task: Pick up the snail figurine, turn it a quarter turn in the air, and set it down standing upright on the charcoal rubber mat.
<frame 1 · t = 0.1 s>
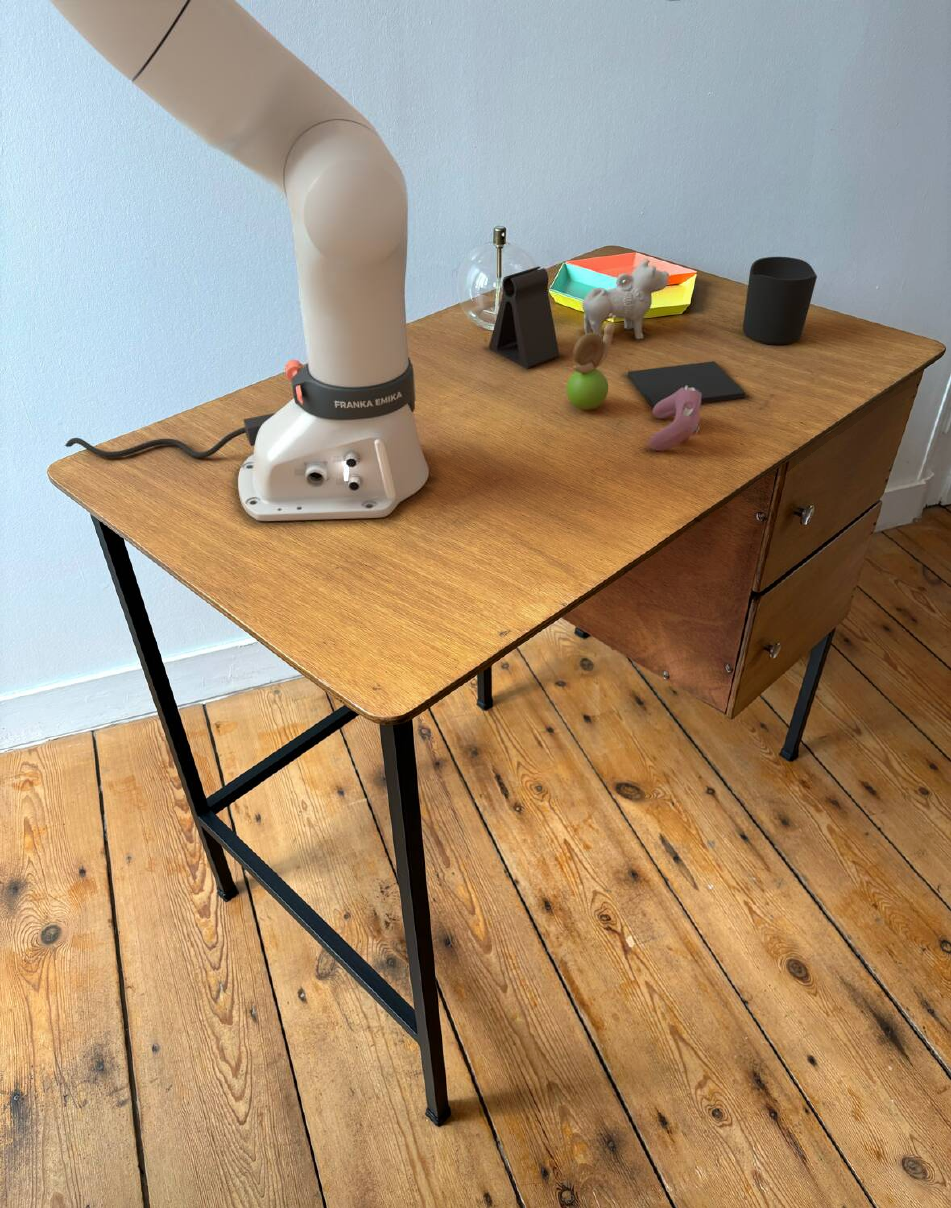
dog figurine: (619, 334, 145), on the table
mat: (684, 387, 131), on the table
video game controller: (672, 436, 121), on the table
pen holder: (771, 335, 145), on the table
snail figurine: (588, 407, 128), on the table
phone stand: (523, 354, 140), on the table
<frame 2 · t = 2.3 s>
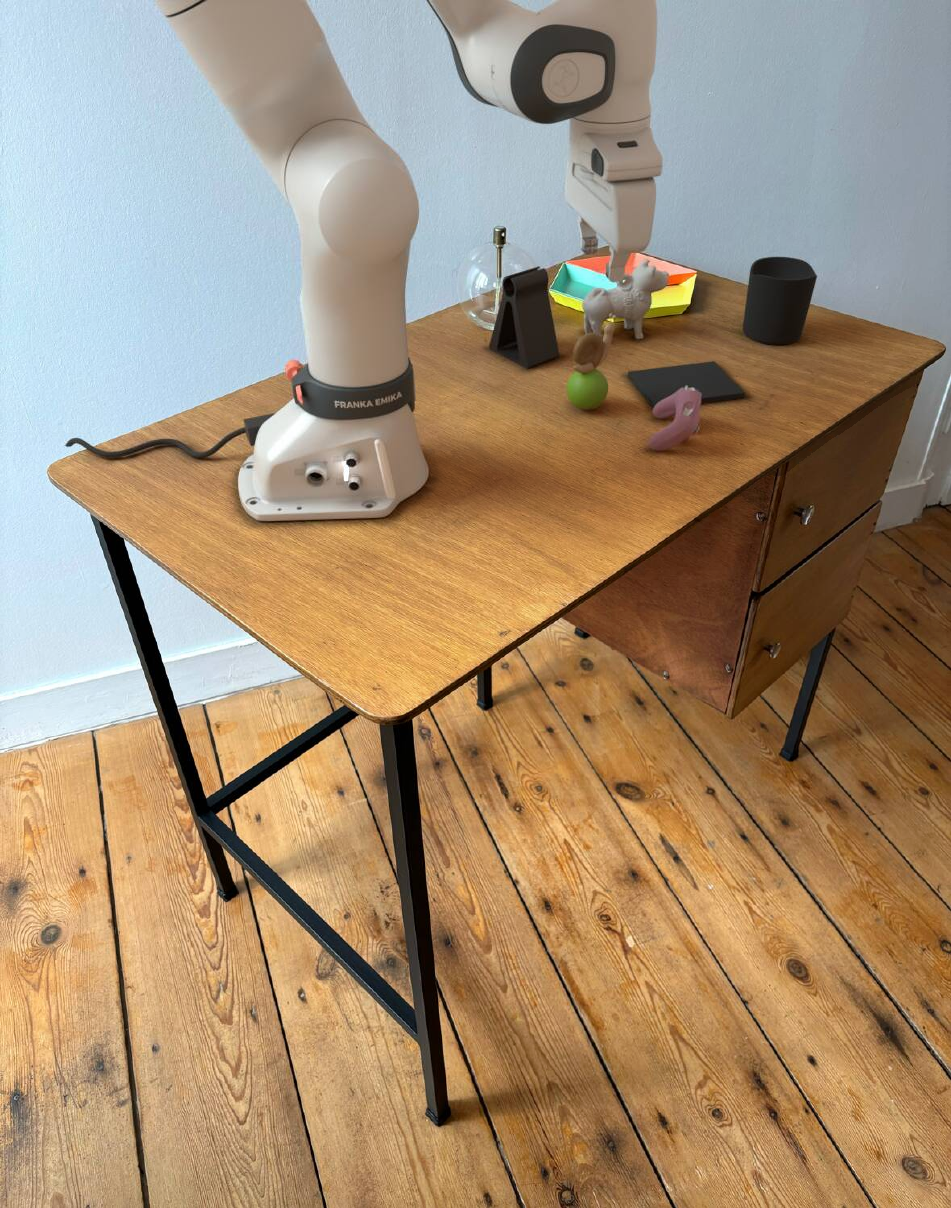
hand: (601, 265, 115), 19 cm above the table, tool pointing down, fingers open, 8 cm apart
nothing on the table moved.
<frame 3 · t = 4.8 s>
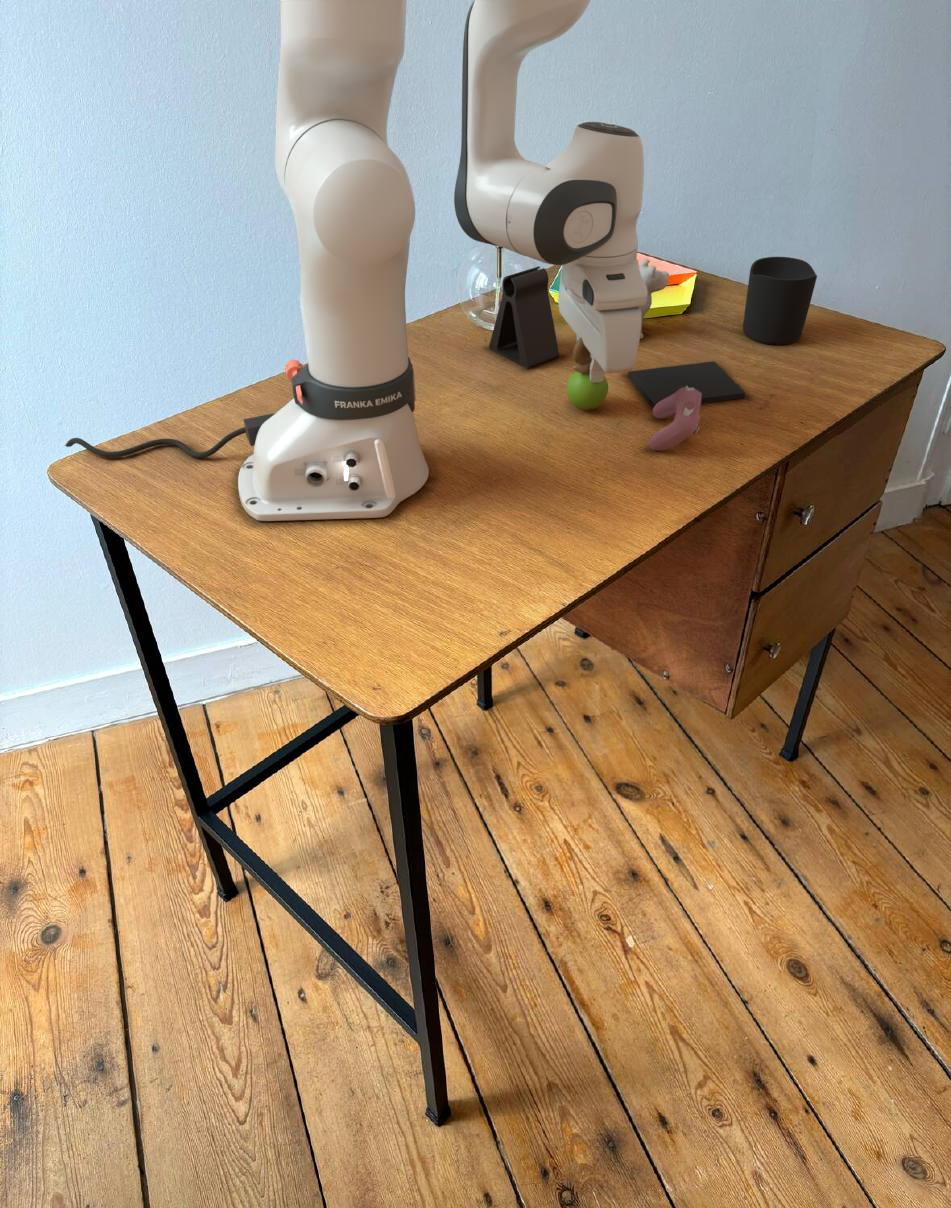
hand: (591, 374, 125), 5 cm above the table, tool pointing down, fingers closed on snail figurine
snail figurine: (588, 407, 128), on the table, touching gripper
everything else where it was.
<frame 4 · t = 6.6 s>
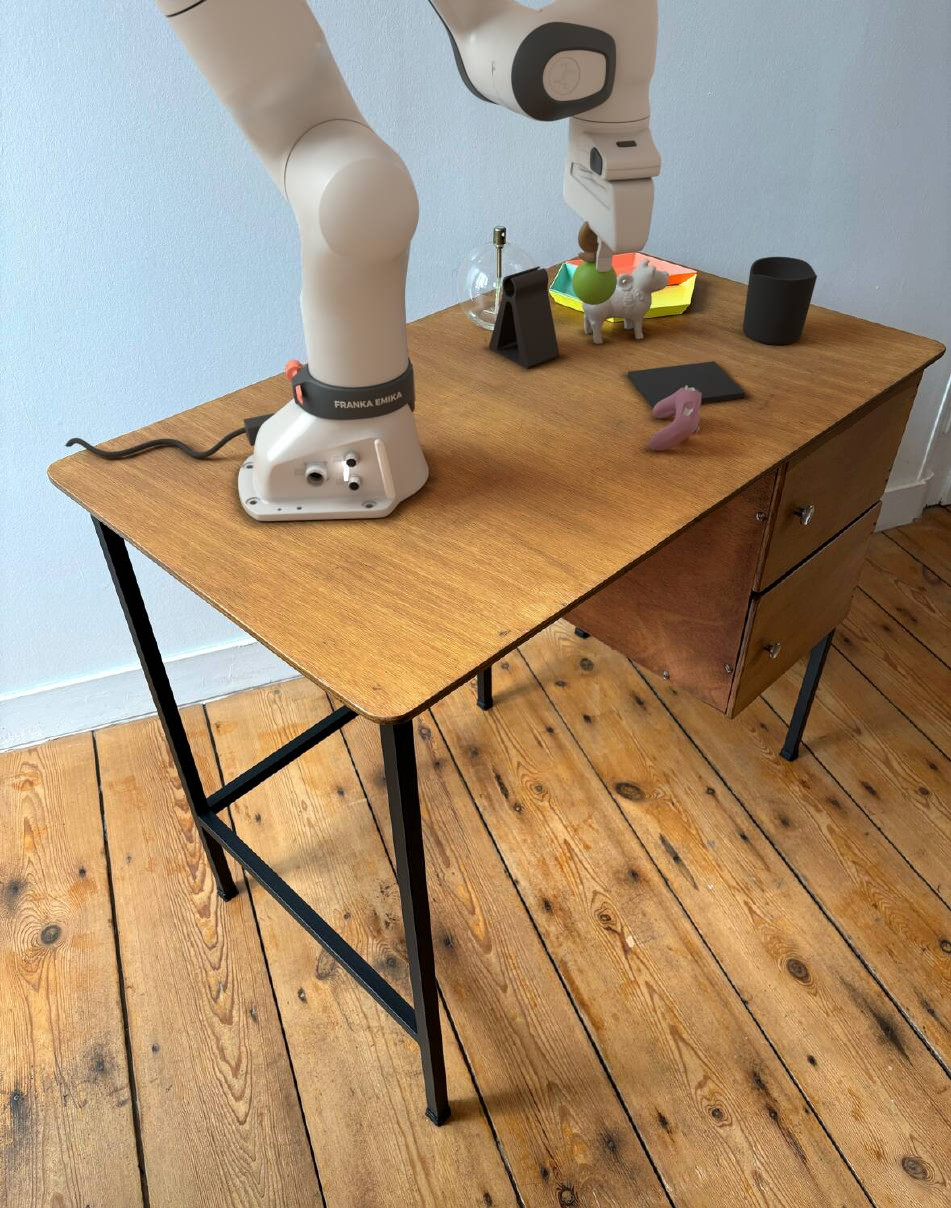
hand: (598, 265, 115), 19 cm above the table, tool pointing down, fingers closed on snail figurine
snail figurine: (596, 304, 119), point 14 cm above the table, touching gripper
everything else where it was.
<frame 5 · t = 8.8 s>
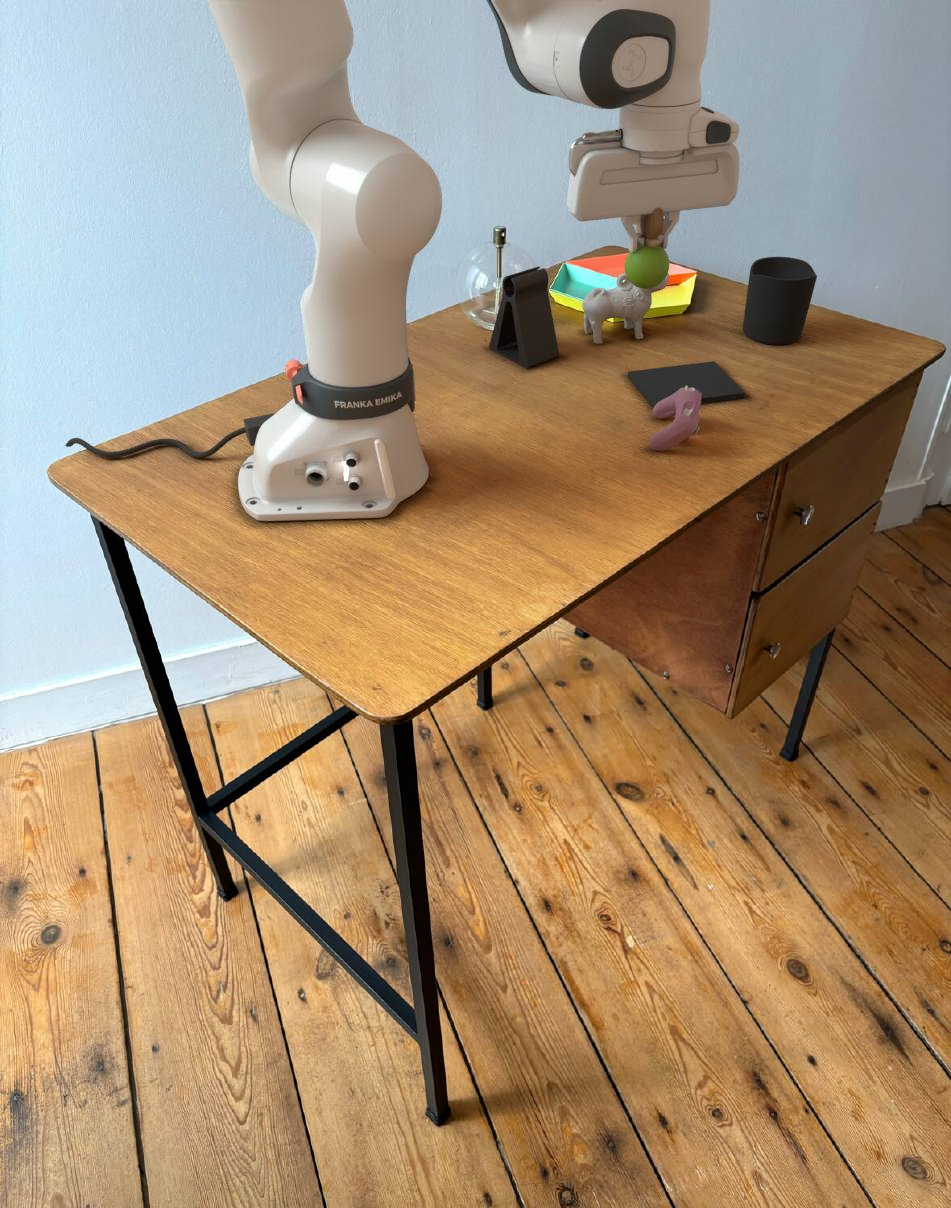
hand: (647, 249, 117), 20 cm above the table, tool pointing down, fingers closed on snail figurine
snail figurine: (642, 287, 120), point 15 cm above the table, touching gripper
everything else where it was.
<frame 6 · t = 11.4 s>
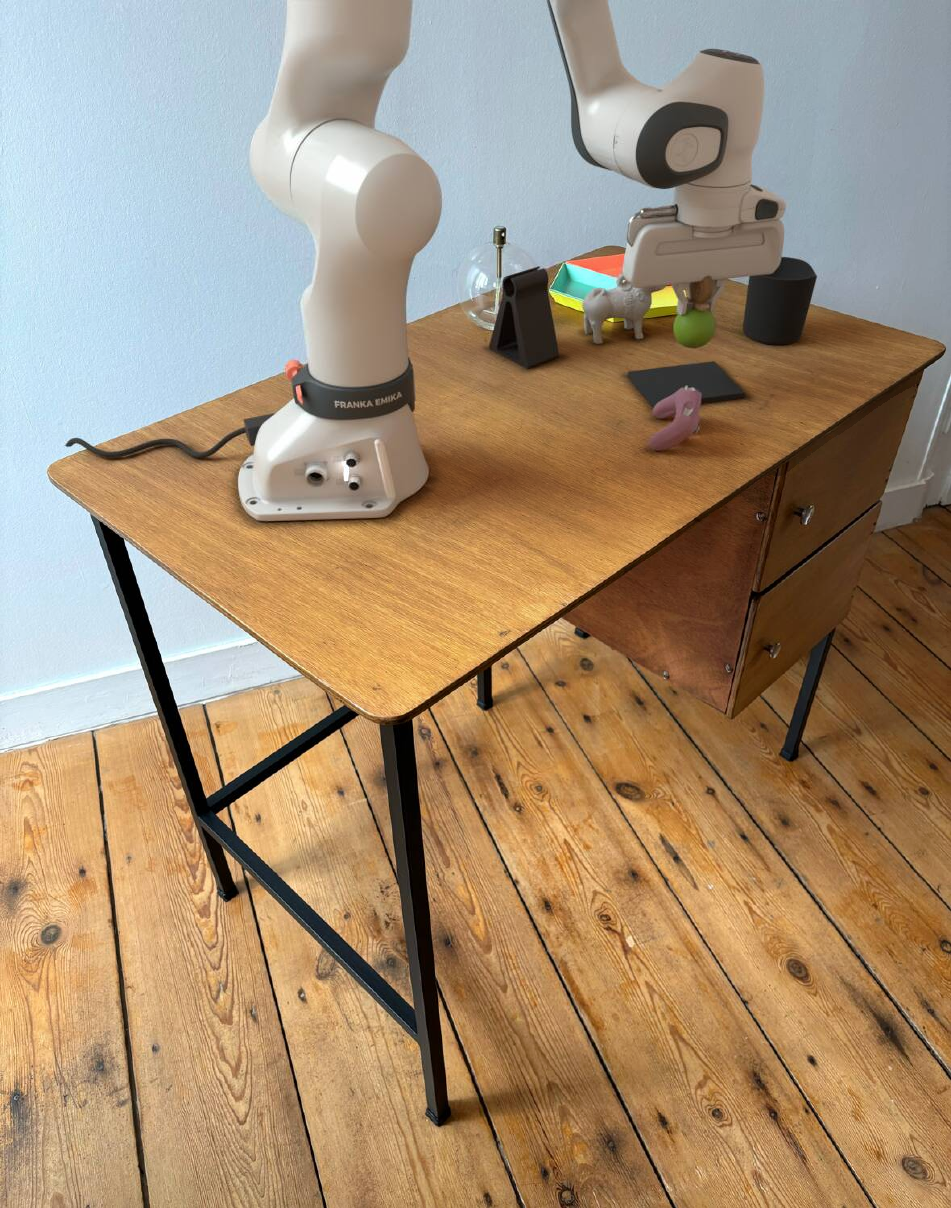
hand: (695, 312, 125), 11 cm above the table, tool pointing down, fingers closed on snail figurine
snail figurine: (689, 346, 128), point 6 cm above the table, touching gripper
everything else where it was.
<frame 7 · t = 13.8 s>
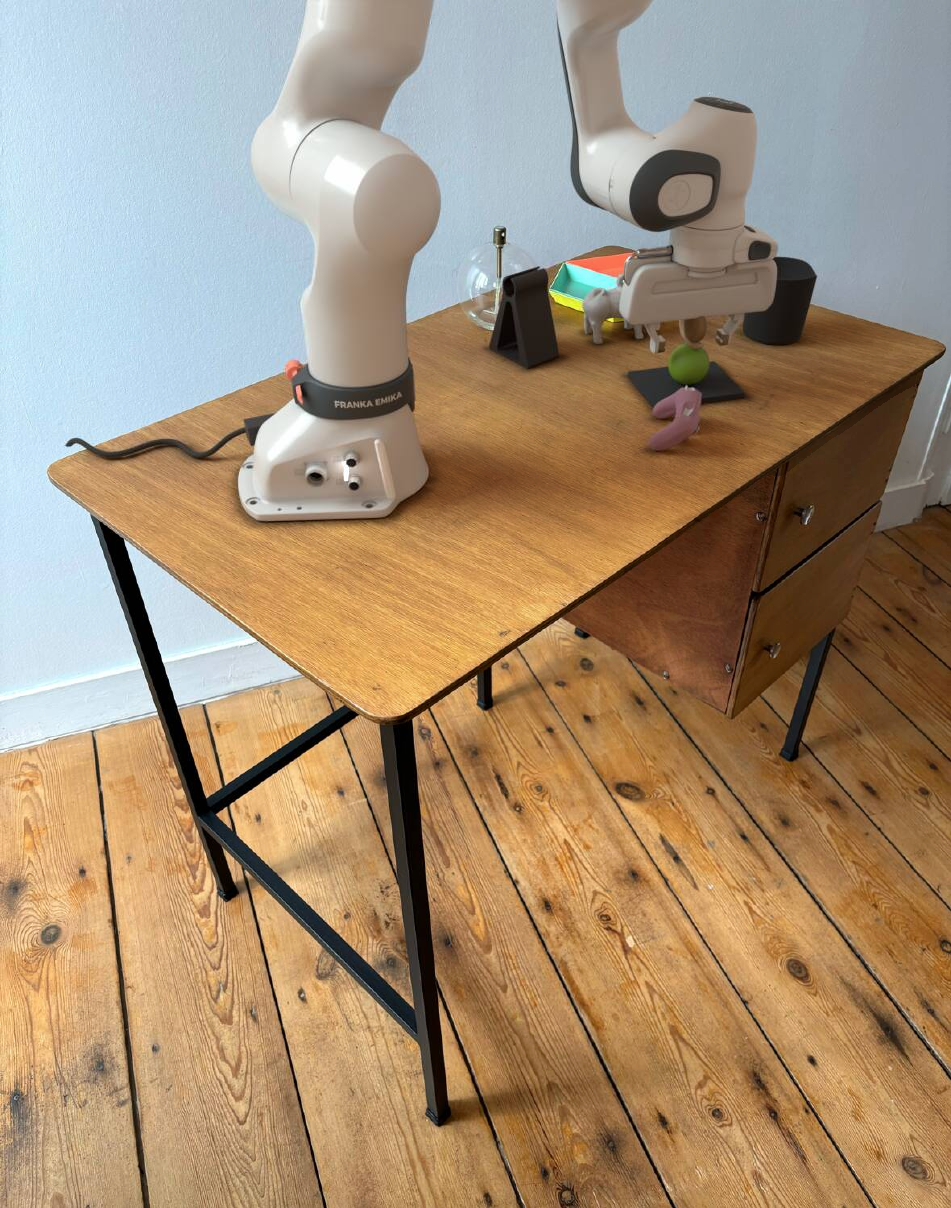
hand: (690, 347, 128), 6 cm above the table, tool pointing down, fingers open, 8 cm apart
snail figurine: (684, 382, 131), point 1 cm above the table, touching mat
everything else where it was.
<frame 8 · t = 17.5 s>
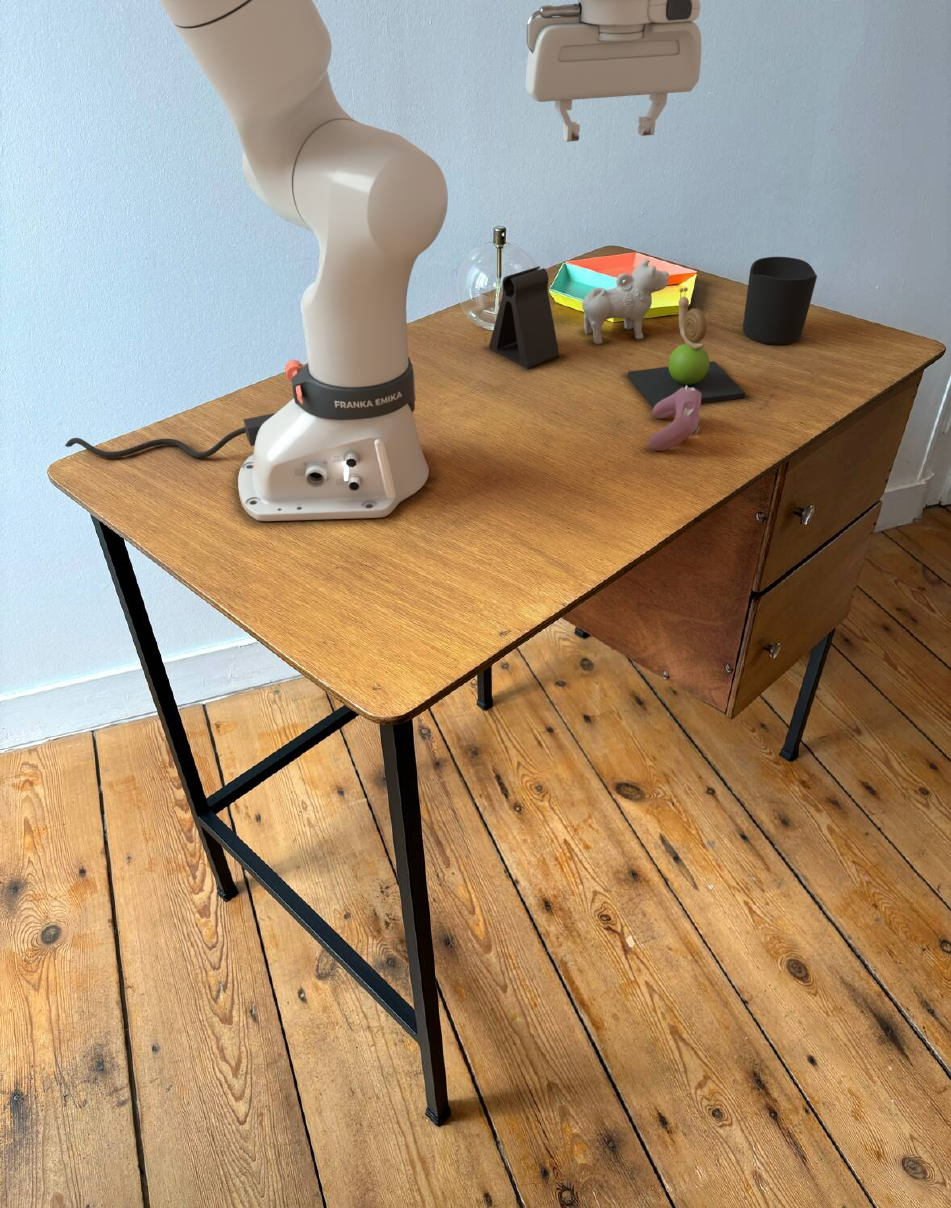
hand: (608, 137, 114), 31 cm above the table, tool pointing down, fingers open, 8 cm apart
nothing on the table moved.
at the end: snail figurine inside the target area on the mat (0.2 cm from its centre), point 0.6 cm above the mat's base; snail figurine tilted 0°; the gripper is holding nothing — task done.
